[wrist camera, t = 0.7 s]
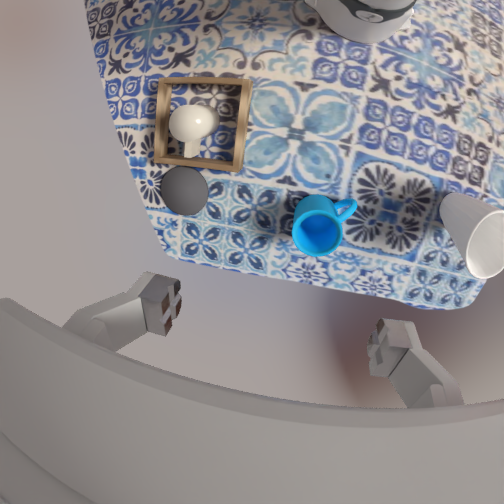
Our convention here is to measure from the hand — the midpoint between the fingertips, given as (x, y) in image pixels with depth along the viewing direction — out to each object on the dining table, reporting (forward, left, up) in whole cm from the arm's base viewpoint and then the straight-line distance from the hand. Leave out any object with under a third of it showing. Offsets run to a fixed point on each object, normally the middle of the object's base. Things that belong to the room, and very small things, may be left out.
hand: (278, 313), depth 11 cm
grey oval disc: (+11, -21, -40) cm, 46 cm away
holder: (-3, -18, -40) cm, 44 cm away
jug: (-2, -18, -40) cm, 44 cm away
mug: (+10, +6, -40) cm, 42 cm away
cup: (+3, +32, -40) cm, 52 cm away
